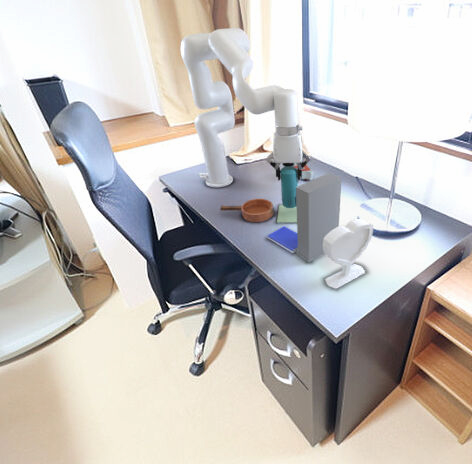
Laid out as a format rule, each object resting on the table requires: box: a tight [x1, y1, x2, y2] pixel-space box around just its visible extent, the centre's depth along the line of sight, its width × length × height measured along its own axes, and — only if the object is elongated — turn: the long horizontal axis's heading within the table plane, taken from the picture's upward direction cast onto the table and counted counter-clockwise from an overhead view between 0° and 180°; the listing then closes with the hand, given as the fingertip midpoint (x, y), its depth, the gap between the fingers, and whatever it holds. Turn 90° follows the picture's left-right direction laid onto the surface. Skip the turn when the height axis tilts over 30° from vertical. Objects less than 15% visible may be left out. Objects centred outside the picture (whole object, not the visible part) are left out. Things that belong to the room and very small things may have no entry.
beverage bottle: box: [280, 163, 299, 208], centre depth 118 cm, size 6×7×20 cm
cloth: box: [276, 204, 297, 224], centre depth 126 cm, size 10×13×1 cm
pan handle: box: [220, 205, 242, 211], centre depth 125 cm, size 8×2×1 cm, turn 89°
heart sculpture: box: [323, 218, 374, 289], centre depth 91 cm, size 16×5×18 cm, turn 125°
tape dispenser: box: [293, 163, 315, 181], centre depth 153 cm, size 18×5×20 cm
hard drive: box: [267, 226, 298, 254], centre depth 111 cm, size 2×8×12 cm
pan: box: [240, 198, 274, 223], centre depth 125 cm, size 12×12×4 cm
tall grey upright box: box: [295, 172, 342, 263], centre depth 99 cm, size 14×6×25 cm, turn 133°
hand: (289, 178), depth 117 cm, fingers closed on beverage bottle, 6 cm apart
